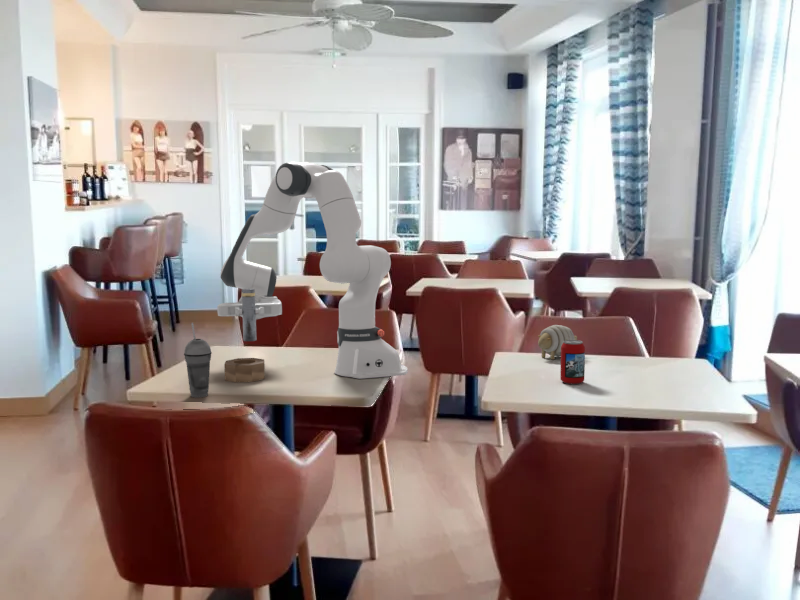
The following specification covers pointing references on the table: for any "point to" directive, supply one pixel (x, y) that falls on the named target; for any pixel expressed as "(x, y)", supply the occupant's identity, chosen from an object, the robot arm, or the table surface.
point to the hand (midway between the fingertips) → (248, 312)
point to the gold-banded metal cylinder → (249, 314)
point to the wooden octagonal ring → (244, 370)
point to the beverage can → (572, 362)
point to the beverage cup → (198, 365)
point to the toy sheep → (554, 339)
